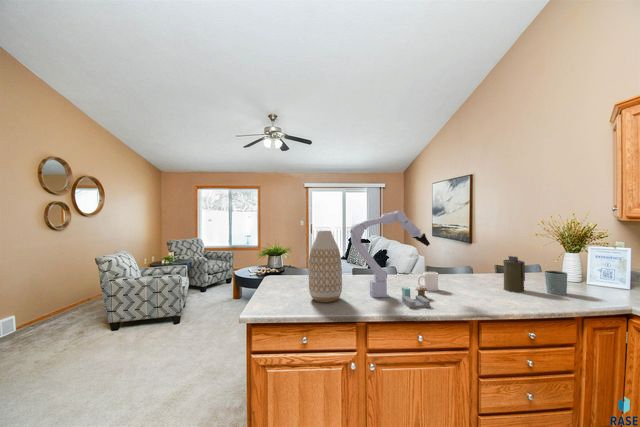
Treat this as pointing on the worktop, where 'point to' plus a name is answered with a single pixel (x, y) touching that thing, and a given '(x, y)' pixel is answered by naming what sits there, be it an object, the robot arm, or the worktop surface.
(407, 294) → the tab
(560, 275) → the grey pot
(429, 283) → the cup
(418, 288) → the bobbin
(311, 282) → the vase
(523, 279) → the canister
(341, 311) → the worktop surface
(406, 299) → the board
